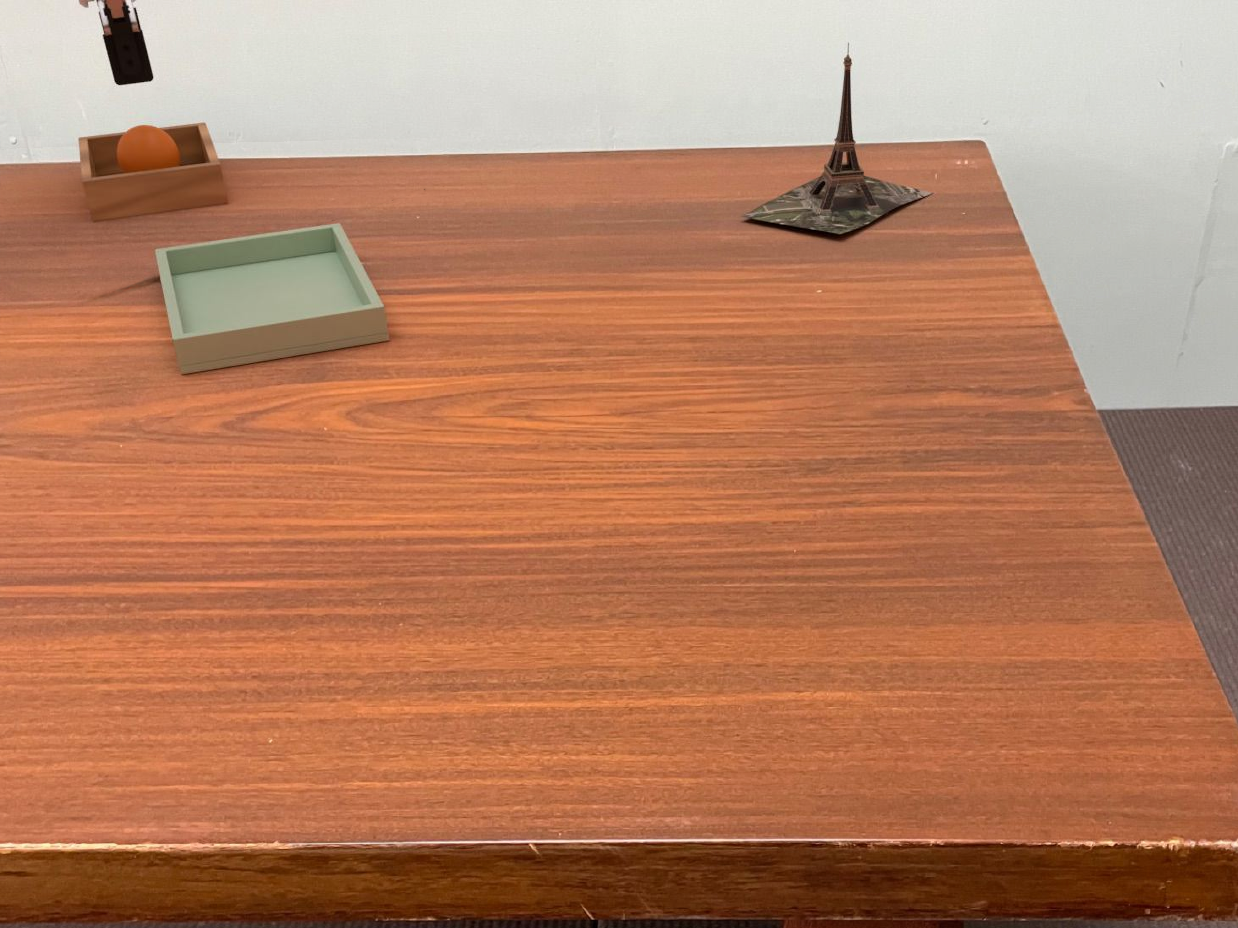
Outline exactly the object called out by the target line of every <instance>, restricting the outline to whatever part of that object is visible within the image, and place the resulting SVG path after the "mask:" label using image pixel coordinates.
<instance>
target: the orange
mask: <svg viewBox="0 0 1238 928" xmlns="http://www.w3.org/2000/svg"><path fill="white" fill-rule="evenodd" d="M159 128H160V127H157V126H154V125H151V124H149V125H148V124H141V125H136V126H133V127H131V128H129V129H128V130H127V131H124V132H125V133H124V135H123V136H122V137H121V139H120V141H119V143H118V147H117V160H118V163H119V166H120V168H121V170H122V172H123V173H124V174H125V173H133V172H140V171H148V170H156V169H164V168H172V167H179V166H180V155H179V151H178V148H177V146H176V144H175V142H174V140H173V139H172V138H171V137H170V136H169V135H168V134H167V133H166V132H165V131H163V130H161V129H159Z"/></svg>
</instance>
